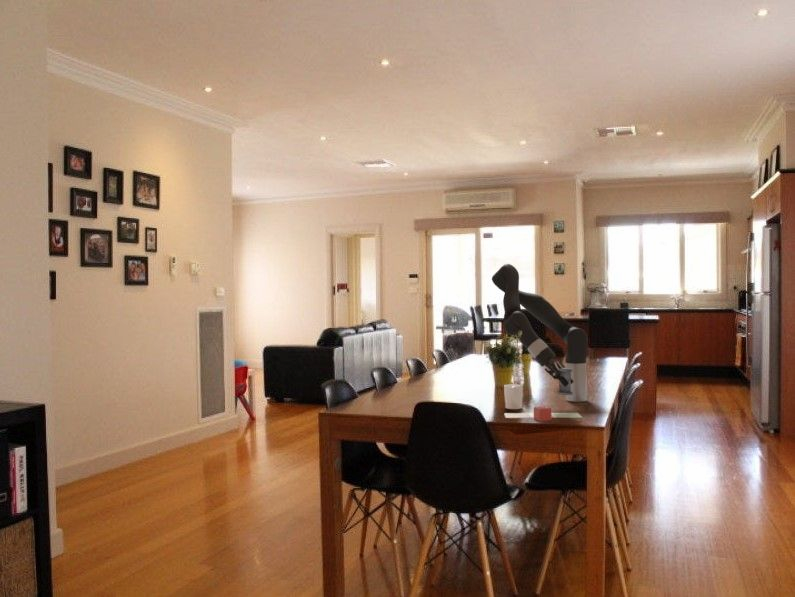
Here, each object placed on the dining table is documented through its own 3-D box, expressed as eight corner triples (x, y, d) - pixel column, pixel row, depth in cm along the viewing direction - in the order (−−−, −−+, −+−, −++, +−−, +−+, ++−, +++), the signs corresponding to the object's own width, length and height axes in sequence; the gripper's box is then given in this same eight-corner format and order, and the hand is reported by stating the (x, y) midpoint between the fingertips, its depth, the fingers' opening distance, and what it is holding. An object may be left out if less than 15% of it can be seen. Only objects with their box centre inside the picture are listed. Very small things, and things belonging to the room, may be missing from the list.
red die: (533, 419, 266) (533, 405, 266) (545, 418, 267) (545, 405, 267) (539, 422, 261) (539, 407, 261) (551, 421, 262) (551, 407, 262)
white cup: (509, 410, 287) (508, 387, 287) (501, 407, 294) (500, 384, 294) (526, 409, 289) (525, 386, 289) (517, 406, 297) (517, 383, 297)
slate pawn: (556, 392, 276) (556, 368, 276) (571, 392, 276) (571, 368, 275) (558, 395, 270) (558, 370, 270) (573, 395, 270) (573, 370, 269)
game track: (503, 414, 279) (503, 413, 279) (578, 413, 277) (578, 412, 277) (505, 418, 269) (505, 417, 269) (582, 418, 267) (582, 417, 267)
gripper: (542, 356, 285) (569, 387, 279) (528, 360, 274) (556, 392, 267) (554, 344, 282) (582, 375, 276) (540, 348, 270) (569, 380, 264)
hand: (569, 384), depth 272 cm, fingers closed on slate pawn, 4 cm apart
